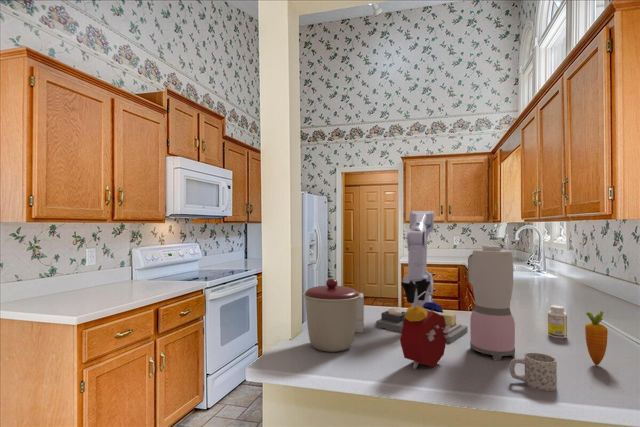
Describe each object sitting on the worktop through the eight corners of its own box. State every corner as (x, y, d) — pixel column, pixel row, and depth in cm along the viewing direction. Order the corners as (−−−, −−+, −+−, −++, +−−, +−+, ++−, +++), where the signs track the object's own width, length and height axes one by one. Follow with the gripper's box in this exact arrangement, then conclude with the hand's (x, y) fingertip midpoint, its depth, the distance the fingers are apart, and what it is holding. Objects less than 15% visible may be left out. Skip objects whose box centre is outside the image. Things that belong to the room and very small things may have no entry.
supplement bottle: (556, 333, 129) (556, 304, 130) (571, 338, 124) (571, 308, 124) (543, 334, 128) (543, 305, 128) (557, 339, 123) (557, 308, 123)
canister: (295, 340, 119) (296, 275, 120) (346, 335, 125) (346, 273, 126) (312, 360, 102) (313, 285, 103) (370, 353, 108) (371, 282, 109)
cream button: (392, 313, 142) (392, 307, 142) (404, 315, 139) (404, 310, 139) (385, 315, 138) (385, 310, 138) (397, 317, 135) (397, 312, 135)
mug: (550, 380, 91) (550, 354, 91) (561, 393, 84) (561, 364, 84) (506, 376, 93) (506, 350, 93) (513, 387, 87) (513, 359, 87)
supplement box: (363, 327, 135) (363, 292, 135) (363, 333, 128) (364, 296, 128) (343, 326, 136) (343, 292, 136) (342, 332, 128) (342, 296, 129)
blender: (525, 357, 106) (525, 247, 107) (493, 362, 102) (493, 248, 102) (483, 340, 121) (483, 243, 122) (453, 344, 117) (454, 244, 117)
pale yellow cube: (445, 323, 132) (445, 312, 132) (456, 325, 130) (456, 314, 130) (440, 325, 129) (440, 314, 129) (451, 328, 127) (451, 316, 127)
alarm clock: (428, 354, 108) (428, 286, 108) (456, 362, 102) (456, 290, 102) (399, 367, 98) (399, 292, 98) (428, 378, 92) (428, 298, 92)
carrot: (583, 365, 101) (583, 310, 101) (587, 360, 104) (586, 307, 105) (606, 370, 97) (605, 314, 97) (609, 365, 101) (608, 310, 101)
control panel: (396, 317, 148) (396, 306, 148) (467, 331, 130) (467, 319, 130) (376, 326, 136) (376, 314, 136) (450, 343, 118) (450, 329, 118)
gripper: (416, 265, 125) (415, 305, 124) (435, 263, 136) (435, 300, 135) (398, 264, 130) (397, 302, 129) (418, 262, 141) (418, 298, 140)
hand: (416, 301), depth 132 cm, fingers open, 7 cm apart
